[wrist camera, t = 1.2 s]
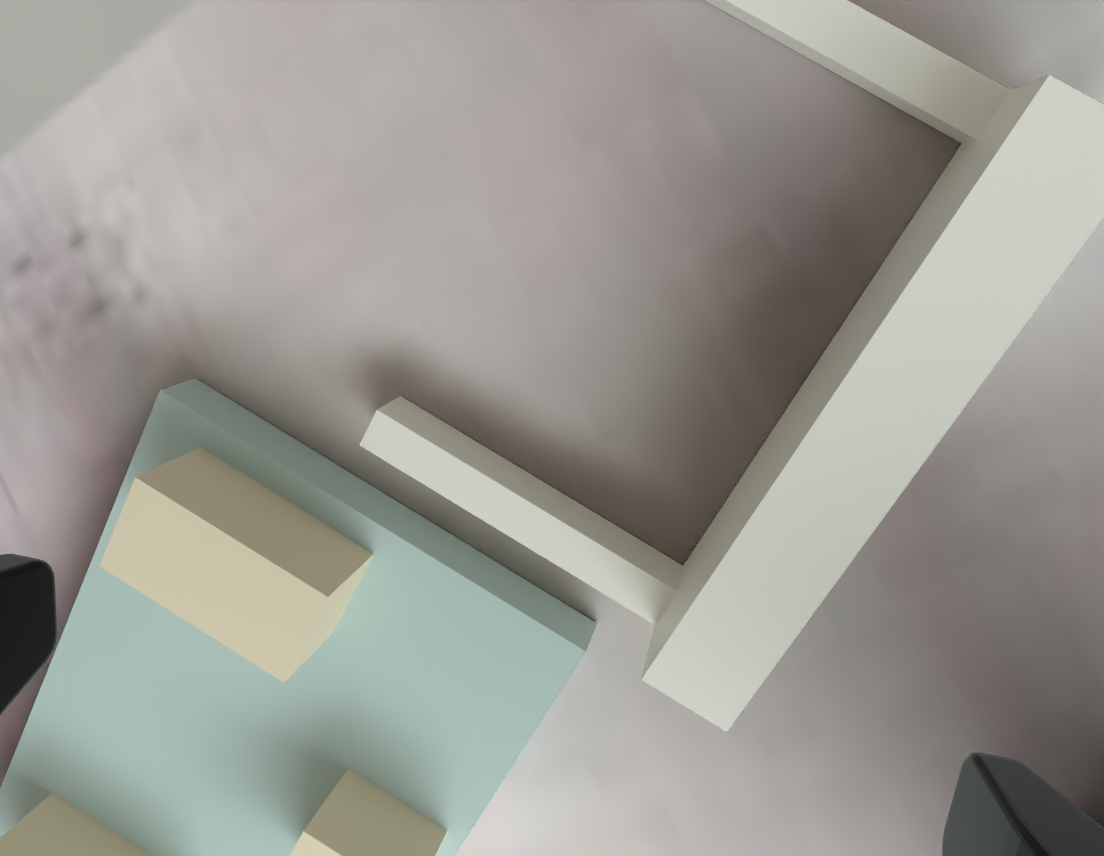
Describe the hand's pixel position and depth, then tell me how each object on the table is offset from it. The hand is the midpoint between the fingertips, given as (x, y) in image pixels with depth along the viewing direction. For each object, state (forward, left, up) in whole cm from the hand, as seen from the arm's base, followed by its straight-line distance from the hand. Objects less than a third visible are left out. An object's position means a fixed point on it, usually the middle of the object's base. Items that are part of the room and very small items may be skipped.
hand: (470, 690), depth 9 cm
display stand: (+4, +14, -14) cm, 20 cm away
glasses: (0, -2, -13) cm, 14 cm away
